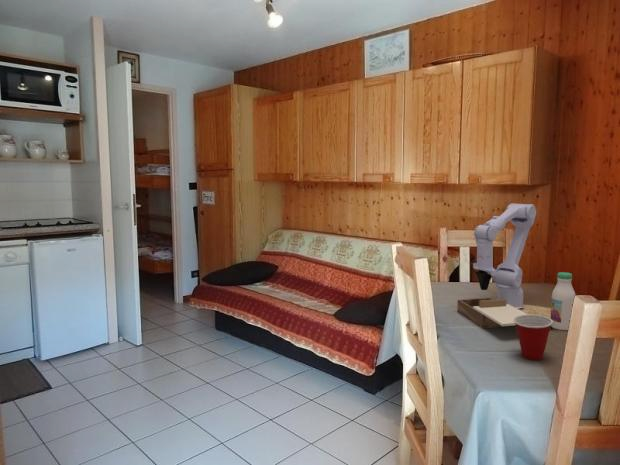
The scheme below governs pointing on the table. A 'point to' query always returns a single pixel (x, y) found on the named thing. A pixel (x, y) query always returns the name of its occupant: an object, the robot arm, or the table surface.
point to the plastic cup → (533, 335)
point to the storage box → (476, 313)
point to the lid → (499, 311)
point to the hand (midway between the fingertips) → (484, 289)
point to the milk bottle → (562, 301)
